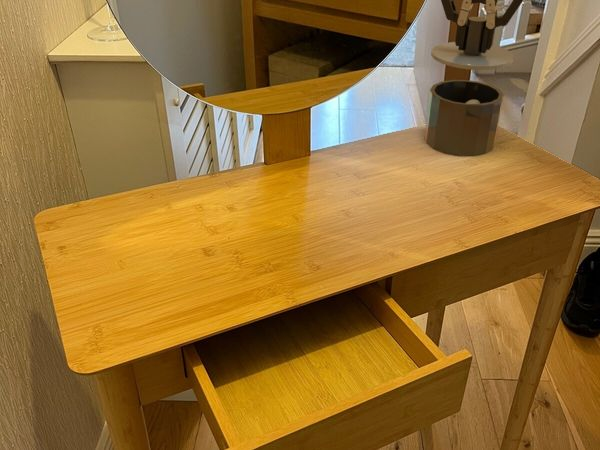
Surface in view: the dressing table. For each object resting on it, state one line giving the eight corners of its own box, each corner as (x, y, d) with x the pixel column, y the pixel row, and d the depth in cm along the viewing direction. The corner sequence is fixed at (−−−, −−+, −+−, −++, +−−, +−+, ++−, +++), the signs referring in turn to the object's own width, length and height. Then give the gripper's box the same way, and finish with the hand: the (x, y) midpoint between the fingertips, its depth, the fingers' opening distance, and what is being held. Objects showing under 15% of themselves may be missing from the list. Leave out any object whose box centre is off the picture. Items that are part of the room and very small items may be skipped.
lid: (516, 54, 101) (524, 13, 97) (506, 78, 91) (514, 34, 87) (440, 45, 105) (445, 5, 101) (422, 67, 95) (427, 24, 92)
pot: (496, 143, 109) (507, 85, 103) (486, 171, 100) (497, 109, 94) (432, 132, 112) (439, 76, 107) (416, 158, 104) (423, 98, 98)
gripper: (436, -72, 87) (422, 51, 96) (541, -66, 82) (516, 63, 92) (447, -78, 93) (433, 39, 102) (546, -73, 88) (522, 49, 98)
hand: (472, 49), depth 97 cm, fingers closed on lid, 3 cm apart
